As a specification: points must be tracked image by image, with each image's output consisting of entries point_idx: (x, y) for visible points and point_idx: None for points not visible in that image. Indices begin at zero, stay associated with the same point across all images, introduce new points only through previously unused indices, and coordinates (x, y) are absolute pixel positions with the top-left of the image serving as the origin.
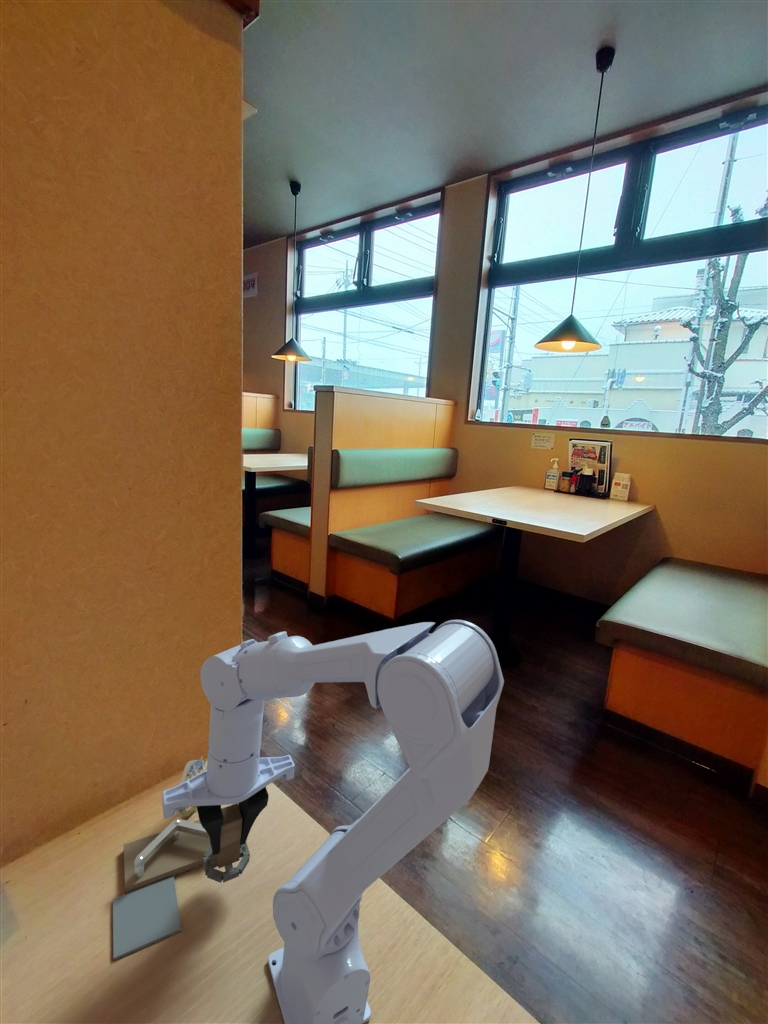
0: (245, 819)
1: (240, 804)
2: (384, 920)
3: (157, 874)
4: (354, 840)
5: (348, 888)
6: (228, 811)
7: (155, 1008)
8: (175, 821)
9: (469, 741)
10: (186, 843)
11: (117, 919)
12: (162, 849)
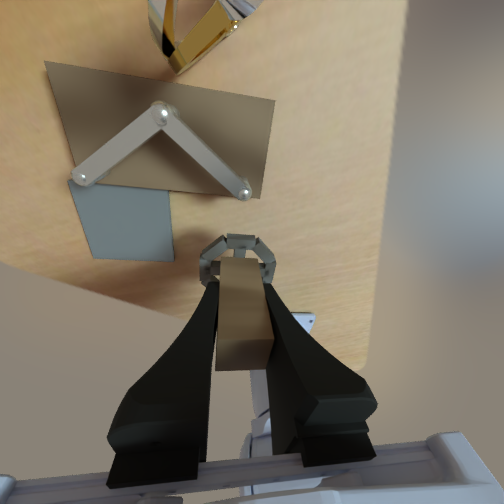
0: (267, 386)
1: (276, 356)
2: (352, 323)
3: (136, 184)
4: None
5: None
6: (243, 349)
7: (148, 305)
8: (156, 115)
9: None
10: None
11: (85, 217)
12: None
